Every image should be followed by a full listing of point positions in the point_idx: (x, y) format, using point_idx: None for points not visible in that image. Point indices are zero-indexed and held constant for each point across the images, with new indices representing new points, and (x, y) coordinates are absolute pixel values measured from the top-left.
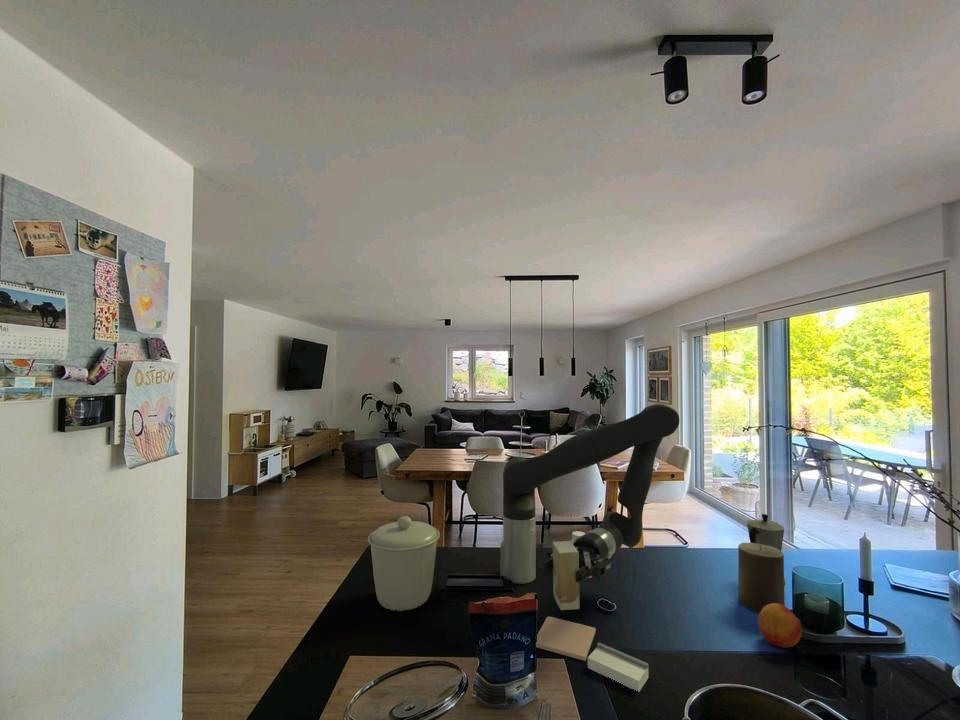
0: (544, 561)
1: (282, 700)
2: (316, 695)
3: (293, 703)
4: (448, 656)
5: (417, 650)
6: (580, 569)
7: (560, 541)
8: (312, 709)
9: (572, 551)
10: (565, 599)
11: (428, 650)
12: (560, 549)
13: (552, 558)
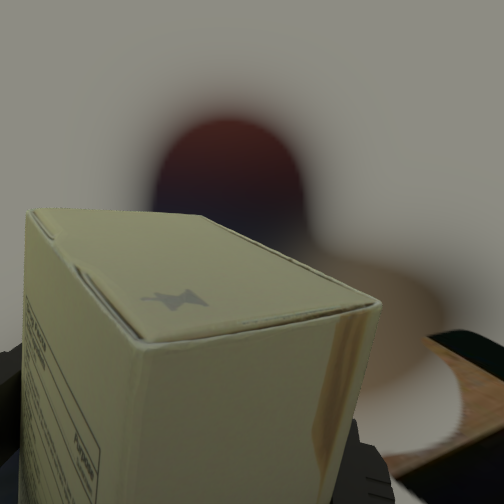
0: (380, 465)
1: (475, 337)
2: (461, 347)
3: (462, 336)
4: (425, 462)
5: (493, 455)
6: (5, 369)
7: (298, 307)
8: (436, 335)
9: (93, 212)
10: None
11: (478, 464)
12: (212, 229)
13: (339, 496)
